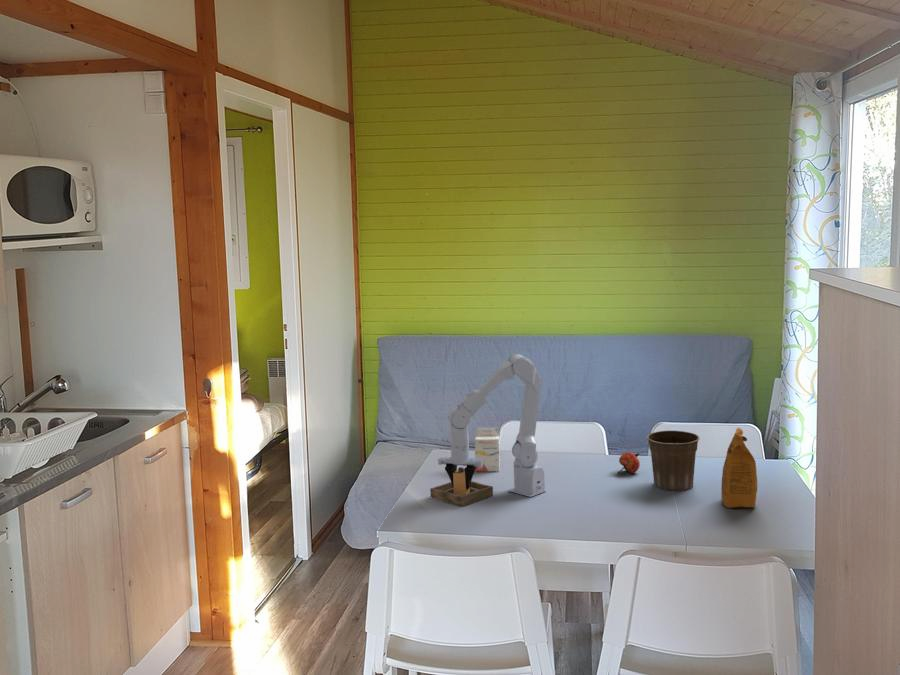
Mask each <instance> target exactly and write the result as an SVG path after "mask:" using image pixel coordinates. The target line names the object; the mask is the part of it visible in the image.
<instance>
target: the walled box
mask: <svg viewBox="0 0 900 675" xmlns="http://www.w3.org/2000/svg"><path fill="white" fill-rule="evenodd" d="M429 490H430V498H431V497H432V498H431V499H433V498H435V500H437V499H438V500H437V501H440V500H442V501H441V502H443V501H445V502H444V503H447V502H448V504H450V503H451V504H450V505H454V504H455V505H454V506H457V505H458V506H457V507H460V506H461V508H462V507H465V506H469V505H471V503H472V504H474V503H477V502H479V501H483V500H485V499H487V498H488V499H489V498H491V497H493V496H494V487H493V486H492V485H489V484H484V483H481V482H476V481H473V480H471V486H470V492H469V493H468V494H465V495H458V494H454V488H453V487H452V483H451V481H450V482H447V483H444V484H439V485H437V486H435V487H432V488H430V489H429ZM468 504H469V505H468Z"/></svg>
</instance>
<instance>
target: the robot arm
mask: <svg viewBox="0 0 900 675" xmlns="http://www.w3.org/2000/svg"><path fill="white" fill-rule="evenodd" d="M515 376H516V377H517V378H519V379H520V380H521V382H522V383H523V384H524V392H523V399H522V406H521V415H520V422H519V431H518V433H517V435H516V438H515V442H514V444H513V445H512V448H511V453H512V455H513V456H514V458H515V459H514V461H513V486H514V487H513V488H509V489H508V492H511V493H515V494H518V495H522V496H526V497H530V498H531V497H534V496H537V495H539V494H542V493H545V492H547V489H546V488H545V487H546V486H545V471H544V469H543V468H542V467H540V466H538V465H537V460H538V452H537V441H536V437H535V436H536V429H537V420H538V414H539V406H540V400H541V399H540V398H541V392H542V391H541V390H542V384H543V382H542V379H541V377H540V374H539V371H538V370H537V367H536V365H535V364H534V363H533V361H531V360H530V359H529V358H528V357H525V356H524V355H522V354H520V353H513V354H511V355H510V356H509V357H508V358H507V359H505V360H504V361H503V362H501V364H500V366H499V367H498V368H497V369H496V370H495V371H494V372H493V374H492V375H491V376H490V377H489V378H488V379H487V380H486V381H485V382H484V383H483V384H482V385H481V387H480V388H479V389H473V390H472V391H467V393H466V395H467V396H466V397H465V398H464V399H463V400H462V401H461V402H460V403H459V402H457V404H456V405H455V406H456V407H454V408H451V410H450V411H449V413H448V416H447V418H448V421H449V423H450V427H449V428H450V434H449V435H450V456H445V457H444V456H443V457H442V456H440V457H439V458H437V464H438V465H439V466H440V465H445V467H444V470H445V472H446V474H447V475H448V478H449V480H450V482H451V483H452V487H453V488H454V485H453V473H454V472H455V471H456V470H458V466H460V467H461V466H464V467H463V468H464V471H465V477H466V489H469V488H470V486H471V481H473V476H474V474H475V472H476V467H480V468H481V467H483V460H478V459H475V458H472V457H470V439H469V424H470V423H471V418H473V417H474V416H475V415H476V414H477V412H479V410H481V408H483V407H484V406H485V405H486V404H487V397H488V396H490V394H492V392H494V391H495V389H497V388H498V387H499V386H500V385H501V384H502V383H503V382H504V381H505V380H512V379H513V380H514V379H516V377H515Z"/></svg>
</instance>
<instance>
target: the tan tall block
mask: <svg viewBox="0 0 900 675" xmlns="http://www.w3.org/2000/svg"><path fill="white" fill-rule="evenodd" d="M464 468H465V467H461V466H460V467H457V470H456V471H455V472H454V473H453V485H454V494H458V495H465V494H468V493H469V492H470V488H469V489H466V477H465V471H464Z"/></svg>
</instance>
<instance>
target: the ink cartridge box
mask: <svg viewBox="0 0 900 675" xmlns="http://www.w3.org/2000/svg"><path fill="white" fill-rule="evenodd" d="M499 430H500V429H499V427H476V428H475V439H474V453H475V454H474V459H478V460H483V467H481V468H480V467H476V469H475V472H489V471H490V472H491V471H496V472H497V471H498V472H500V470H501V453H500V449H501V448H500V445H501V444H500V434H499ZM488 431H489V432H488Z"/></svg>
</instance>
